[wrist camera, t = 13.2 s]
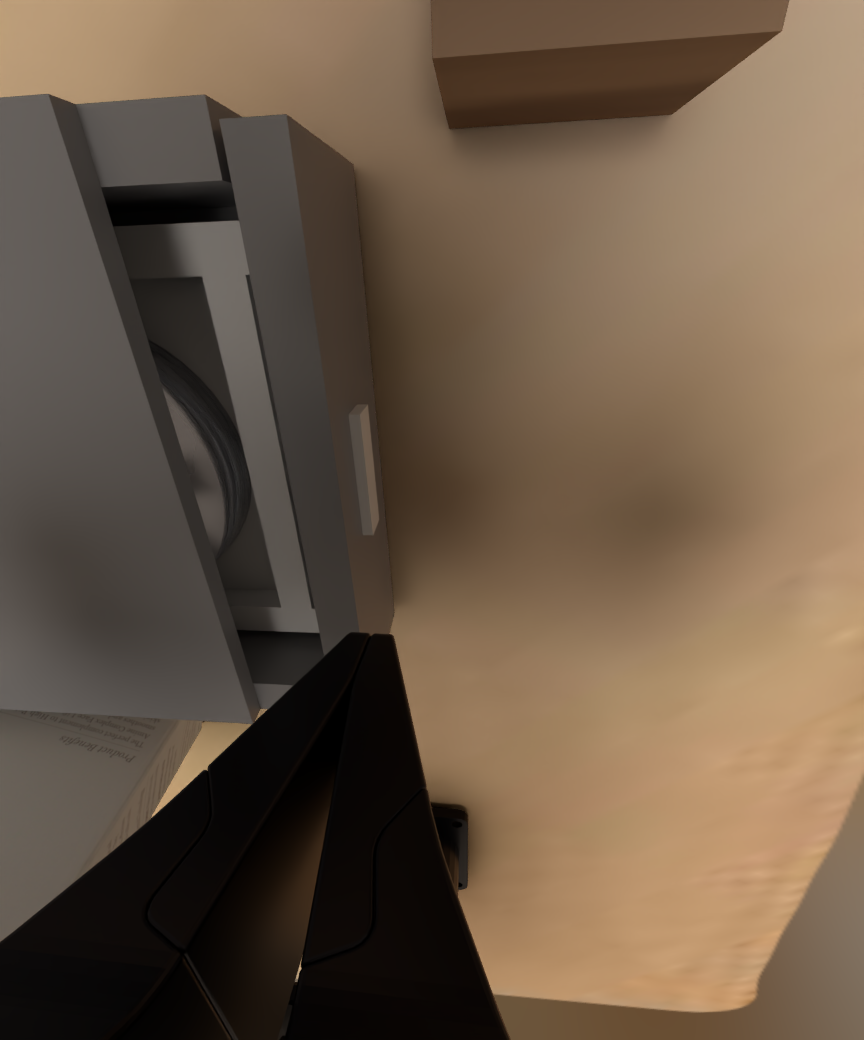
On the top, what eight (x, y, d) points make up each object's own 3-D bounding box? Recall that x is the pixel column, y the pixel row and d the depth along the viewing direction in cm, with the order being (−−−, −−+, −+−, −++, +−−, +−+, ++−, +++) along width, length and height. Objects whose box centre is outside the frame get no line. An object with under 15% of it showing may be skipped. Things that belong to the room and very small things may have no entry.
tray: (401, 612, 16) (379, 710, 13) (75, 602, 17) (-28, 688, 14) (364, 163, 10) (303, 112, 7) (-131, 192, 11) (-405, 162, 8)
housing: (363, 613, 17) (324, 728, 13) (51, 601, 18) (-77, 704, 14) (302, 153, 10) (186, 83, 6) (-173, 181, 12) (-535, 139, 7)
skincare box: (70, 683, 20) (-384, 1153, 10) (66, 608, 18) (-528, 1109, 7) (211, 726, 21) (-70, 1215, 10) (224, 658, 18) (-118, 1191, 8)
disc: (274, 572, 14) (248, 611, 12) (56, 566, 15) (5, 603, 13) (213, 313, 10) (166, 323, 9) (-67, 321, 11) (-157, 332, 10)
